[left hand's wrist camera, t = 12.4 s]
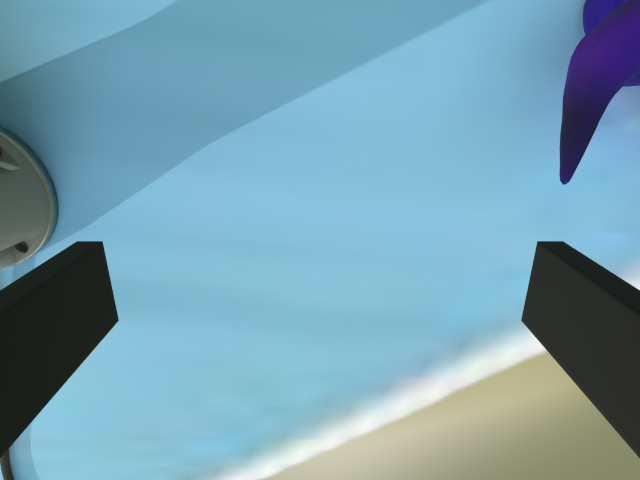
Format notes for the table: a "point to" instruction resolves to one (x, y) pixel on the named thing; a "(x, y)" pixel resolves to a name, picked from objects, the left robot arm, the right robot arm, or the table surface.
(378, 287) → the table surface
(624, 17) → the toy
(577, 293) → the left robot arm
